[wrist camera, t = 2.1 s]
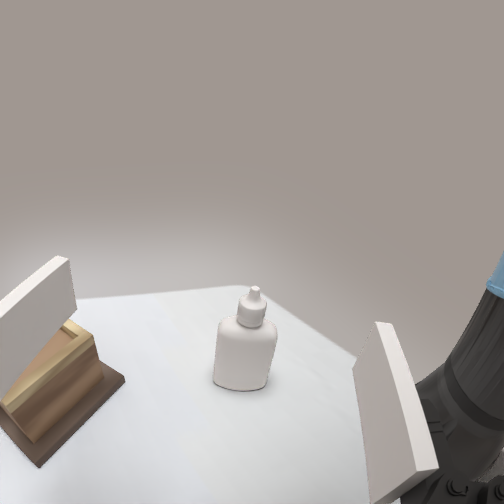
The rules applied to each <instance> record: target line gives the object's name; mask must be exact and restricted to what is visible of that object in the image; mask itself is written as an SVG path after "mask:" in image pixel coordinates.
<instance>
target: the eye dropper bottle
mask: <svg viewBox="0 0 504 504" xmlns="http://www.w3.org/2000/svg"><path fill="white" fill-rule="evenodd" d="M266 306H267V302H266V301H265V299H264V298H262V297H261V296H260V289H259V287H257V286H252V287H251V290H250V292H249V294H246V295H243V296H242V297H241V298H240V299H239V305H238V312H237V315H234V316H230V317H227V318H224V319H222V320H221V321H220V323H219V325H218V332H217V341H216V351H215V361H214V373H213V380H214V382H215V383H216V384H217V385H219V386H222V387H224V388H227V389H231V390H238V391H250V390H256V389H260V388H262V387H263V386H265V384H266V380H267V377H268V373H269V370H270V366H271V362H272V359H273V355H274V351H275V347H276V343H277V329H276V326H275V325H274V324H273V323H272V322H270V321H268V320H266V319H264V316H265V311H266Z"/></svg>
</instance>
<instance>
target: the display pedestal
mask: <svg viewBox="0 0 504 504" xmlns="http://www.w3.org/2000/svg"><path fill="white" fill-rule="evenodd" d="M124 382H125V379H124V376H123V375H122V374H120V373H119V372H117V371H115V370H114V369H112V368H111V367H109V366H107V365H106V364H104V363H103V362H101V361H100V360H99V357H98V353H97V349H96V346H95V341H94V337H93V335H92V334H91V333H89V332H88V331H86V330H85V329H83V328H82V327H80V326H79V325H77V324H76V323H74V322H73V321H71V320H70V319H68V320H67V321H66V322H65V323H64V324H63V325H62V326H61V328H60V329H59V330H58V331H57V332H56V333H55V334H54V335H53V337H52V338H51V339H50V340H49V341H48V342H47V344H46V345H45V346H44V347H43V348H42V350H41V351H40V352H39V353H38V354H37V355H36V357H35V358H34V359H33V360H32V362H31V363H30V364H29V365H28V366H27V368H26V369H25V370H24V371H23V373H22V374H21V375H20V376H19V378H18V379H17V380H16V382H15V383H14V384H13V385H12V387H11V388H10V389H9V391H8V392H7V393H6V395H5V396H4V397H3V399H2V400H1V401H0V426H1V427H2V428H3V429H4V431H5V432H6V433H7V434H8V435H9V437H10V438H11V439H12V440H13V441H14V442H15V444H16V445H17V446H18V447H19V448H20V449H21V450H22V451H23V452H24V453H25V455H26V456H27V457H28V458H29V459H30V460H31V461H32V462H33V463H34V464H35V465H36V466H37V467H38V468H40V467H41V466H42V465H43V464H44V463H45V462H46V461H47V460H48V459H49V458H50V457H51V456H52V455H53V454H54V453H55V452H56V451H57V450H58V449H59V448H60V447H61V446H62V445H63V444H64V443H65V442H66V441H67V440H68V439H69V438H70V437H71V436H72V435H73V434H74V433H75V432H76V431H77V430H78V429H79V428H80V427H81V426H82V425H83V424H84V423H85V422H86V421H87V420H88V419H89V418H90V417H91V416H92V415H93V414H94V413H95V411H96V410H97V409H98V408H99V407H100V406H101V405H102V404H103V403H104V402H105V401H106V400H107V399H108V398H109V397H110V396H111V395H112V394H113V393H114V392H115V391H116V390H117V389H118V388H119V387H120V386H121V385H122V384H123V383H124Z"/></svg>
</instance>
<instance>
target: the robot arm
mask: <svg viewBox="0 0 504 504" xmlns="http://www.w3.org/2000/svg"><path fill="white" fill-rule="evenodd" d="M70 271H71V270H70V264H69V259H68V258H64V257H60V256H55V257H54V258H53V259H52V260H50V261H49V262H48V263H46V264H45V265H44V266H42V267H41V268H40V269H39V270H37V271H36V272H35V273H34V274H32V275H31V276H30V277H29V278H27V279H26V280H25V281H24V282H22V283H21V284H20V285H19V286H18V287H16V288H15V289H14V290H13V291H12V292H10V293H9V294H8V295H7V296H6V297H5V298H3V299H2V300H1V301H0V401H1V400H2V399H3V397H4V396H5V395H6V393H7V392H8V391H9V389H10V388H11V387H12V385H13V384H14V383H15V382H16V380H17V379H18V378H19V376H20V375H21V374H22V373H23V371H24V370H25V369H26V368H27V366H28V365H29V364H30V363H31V362H32V360H33V359H34V358H35V357H36V355H37V354H38V353H39V352H40V351H41V350H42V348H43V347H44V346H45V345H46V344H47V342H48V341H49V340H50V339H51V338H52V337H53V335H54V334H55V333H56V332H57V331H58V330H59V329H60V328H61V326H62V325H63V324H64V323H65V322H66V321H67V320H68V319H69V317H70V316H71V315H72V314H73V313H74V312H75V311H76V310H77V306H76V300H75V295H74V289H73V283H72V277H71V272H70ZM486 286H487V288H486V290H485V293H484V295H483V297H482V299H481V301H480V303H479V305H478V307H477V309H476V311H475V312H474V315H473V316H472V318H471V320H470V322H469V324H468V325H467V327H466V329H465V331H464V332H463V334H462V336H461V337H460V339H459V341H458V342H457V344H456V346H455V347H454V349H453V350H452V352H451V354H450V355H449V357H448V358H447V360H446V361H445V363H443V364H442V365H441V366H440V367H438V368H437V369H436V370H435V371H433V372H432V373H431V374H430V375H429V376H427V377H426V378H425V379H423V380H422V381H420V382H419V383H417V384H414V382H413V379H412V376H411V373H410V370H409V367H408V365H407V362H406V360H405V357H404V354H403V351H402V349H401V346H400V343H399V341H398V338H397V336H396V333H395V331H394V328H393V326H392V324H391V323H383V322H375V323H374V325H373V328H372V330H371V332H370V334H369V336H368V338H367V341H366V342H365V345H364V347H363V349H362V351H361V353H360V355H359V357H358V359H357V361H356V363H355V364H354V366H353V368H352V371H353V376H354V382H355V388H356V394H357V400H358V406H359V413H360V419H361V426H362V434H363V441H364V449H365V457H366V466H367V475H368V485H369V496H370V504H390V503H392V502H394V501H395V500H397V499H398V498H400V501H401V504H504V476H496V477H494V478H493V479H492V480H490V481H489V482H488V483H483V482H474V481H476V480H477V479H478V478H480V477H481V476H482V475H484V474H485V473H486V472H487V471H488V470H489V469H490V468H491V467H492V466H493V464H494V463H495V461H496V460H497V458H498V456H499V454H500V451H501V450H502V449H503V447H504V252H503V254H502V256H501V258H500V261H499V262H498V265H497V267H496V269H495V271H494V273H493V275H492V276H491V277H490V278H489V279H488V281H487V284H486Z"/></svg>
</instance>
